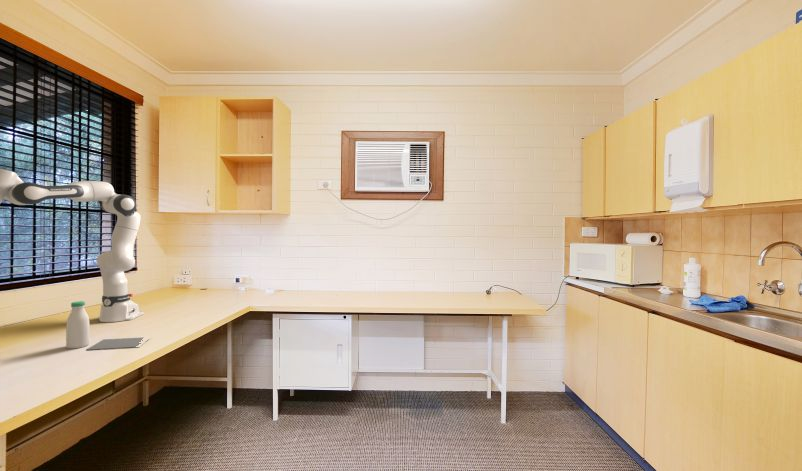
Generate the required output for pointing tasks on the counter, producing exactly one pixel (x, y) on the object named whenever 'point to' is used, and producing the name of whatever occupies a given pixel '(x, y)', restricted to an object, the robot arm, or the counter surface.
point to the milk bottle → (77, 326)
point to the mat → (116, 343)
